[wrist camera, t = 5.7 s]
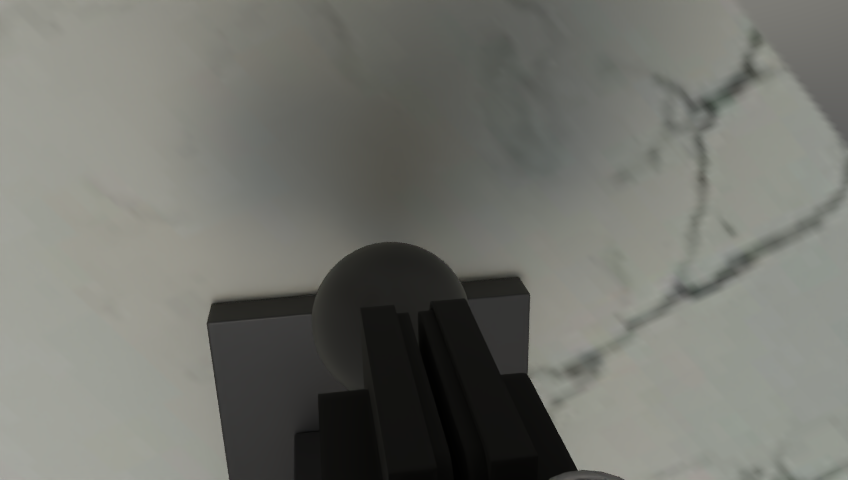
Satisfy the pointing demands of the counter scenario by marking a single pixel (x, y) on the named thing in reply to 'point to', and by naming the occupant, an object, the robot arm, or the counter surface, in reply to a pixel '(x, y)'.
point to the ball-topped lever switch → (374, 299)
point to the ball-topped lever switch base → (315, 374)
